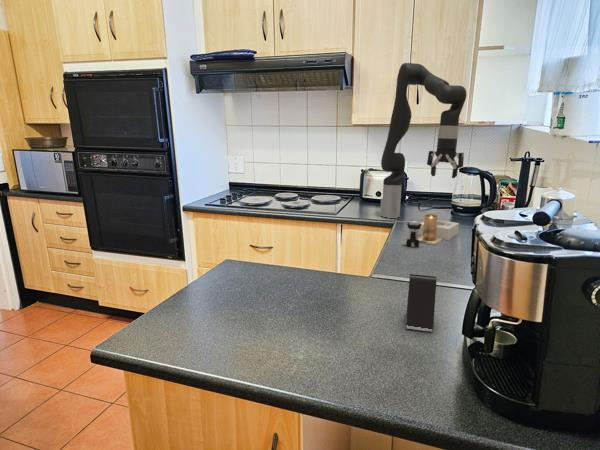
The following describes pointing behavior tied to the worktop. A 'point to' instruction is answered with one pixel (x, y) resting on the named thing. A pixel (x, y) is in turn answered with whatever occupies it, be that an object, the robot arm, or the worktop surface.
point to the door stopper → (421, 301)
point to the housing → (443, 229)
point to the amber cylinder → (430, 227)
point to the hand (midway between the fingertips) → (443, 176)
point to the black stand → (413, 234)
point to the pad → (429, 241)
